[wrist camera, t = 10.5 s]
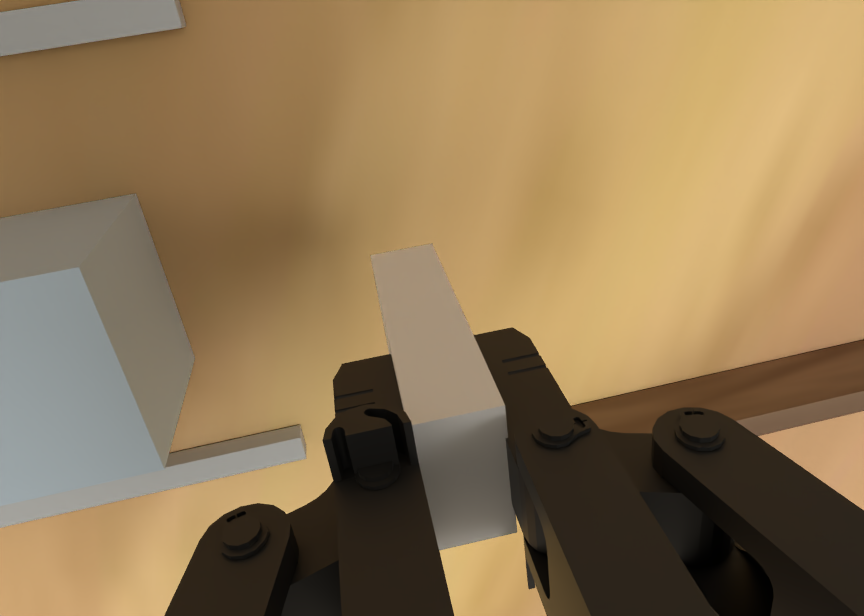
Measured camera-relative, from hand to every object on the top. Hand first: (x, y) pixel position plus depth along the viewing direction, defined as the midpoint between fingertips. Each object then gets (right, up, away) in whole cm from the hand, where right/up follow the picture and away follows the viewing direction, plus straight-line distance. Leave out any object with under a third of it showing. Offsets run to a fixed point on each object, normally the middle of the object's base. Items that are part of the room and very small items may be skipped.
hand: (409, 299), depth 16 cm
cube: (-11, 0, +5) cm, 12 cm away
